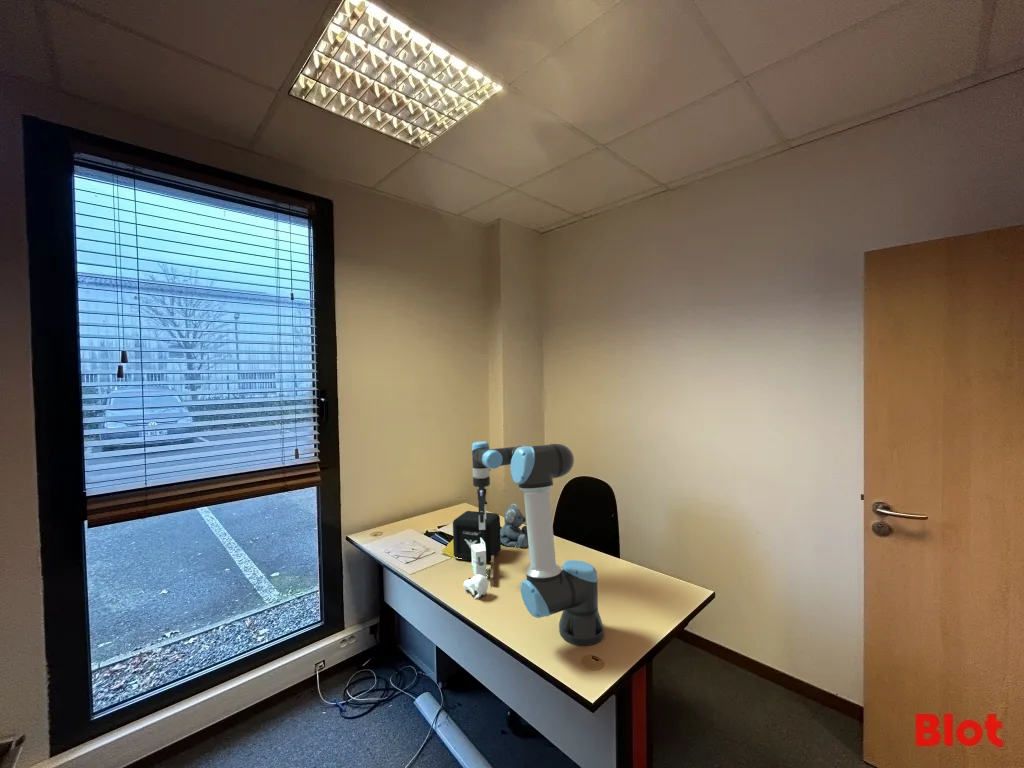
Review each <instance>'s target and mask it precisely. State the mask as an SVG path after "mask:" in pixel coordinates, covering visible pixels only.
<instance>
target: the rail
mask: <svg viewBox="0 0 1024 768" xmlns="http://www.w3.org/2000/svg"><path fill="white" fill-rule="evenodd" d="M494 571H495V557H494V555H491V562H490V570H489V584H490V585H489V586H493V587H494V580H493V578H494V577H495V572H494Z"/></svg>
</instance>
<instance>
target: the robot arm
mask: <svg viewBox="0 0 1024 768" xmlns="http://www.w3.org/2000/svg"><path fill="white" fill-rule="evenodd" d="M489 445H490V444H489V442H488V441H475V442H472V444H471V457H472V461H471V462H472V477H473V478H472V485H473V486H474V487H476V488H477V491H476V495H477V501H478V512H479V513H477V515H479V530H485V519H486V513H487V505H488V501H487V500H486V499H487V498H486V497H487V488H486V487H489V486H490V485H491V477H490V472H491V471H492V470H491V469H493V470H495V469H497V468H499V467H502V466H509V465H510V475H511V476H512V481H513V482H514V483H515V484H518V489H519V490H521V491H522V492H523V498H524V499H523V500H524V511H525V522H526V526H527V535H528V539H527V541H528V545H527V547H528V557H529V566H528V568H527V569H526V571H525V572H526V573H525V577H526V579H524V580H523V581H521V584H520V595H521V598H522V601H523V604H524V606H525V607H526V610H527V612H529V614H530V615H531V616H532V617H534V618H536V619H540V618H544V617H550V616H551V615H555V614H557V613H560V612H562V613H561V616H560V619H559V623H558V632H559V635H560V636H561V637H560V638H562V639H563V640H565V641H566V642H567V643H569V644H572V645H576V646H582V647H583V646H585V647H587V646H588V647H589V646H593V645H596V644H598V643H600V642H601V641H602V640H603V638H604V635H605V631H604V630H605V629H604V628H605V627H604V624H603V620H602V617H601V614H600V612H599V600H598V599H599V598H598V595H599V594H598V591H599V590H598V582H599V579H598V574H597V573H598V572H597V569H596V568H595V567H594V566H593V564H591V563H589V562H586V561H582V560H578V559H577V560H576V559H569V560H565V561H564V562H563V564H562V566H561V567H560V566H559V565H558V564H557V560H556V549H555V539H554V527H553V518H552V517H553V516H552V506H551V497H550V490H551V489H552V487H553V486H554V479H557V478H561V477H564V476H566V475H567V474H568V473H570V471H571V470H572V469H573V466H574V462H575V459H574V458H575V457H574V454H573V452H572V450H571V449H570V448H569V447H568V446H566V445H565V444H564V445H563V444H562V443H550V444H544V445H543V444H542V445H541V444H539V445H529V446H527V445H518V446H517V445H516V446H508V447H499V448H490V446H489Z"/></svg>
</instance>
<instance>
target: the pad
mask: <svg viewBox="0 0 1024 768" xmlns="http://www.w3.org/2000/svg"><path fill="white" fill-rule="evenodd" d="M486 568H487V569H486V574H487V575H488V576H487V577H489V578H490V567H486ZM485 577H486V576H485Z"/></svg>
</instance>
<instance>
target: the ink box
mask: <svg viewBox="0 0 1024 768" xmlns="http://www.w3.org/2000/svg"><path fill="white" fill-rule="evenodd" d="M480 540H481V544H474V545H471V556H472V561H471V568H472V571H473V573H474V575H478V574H480V575H483V576H487V575H486V568H487V563H486V546H485V542H484V541H483V540H482V538H481V537H480ZM482 542H483V543H484V544H483V543H482Z"/></svg>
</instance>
